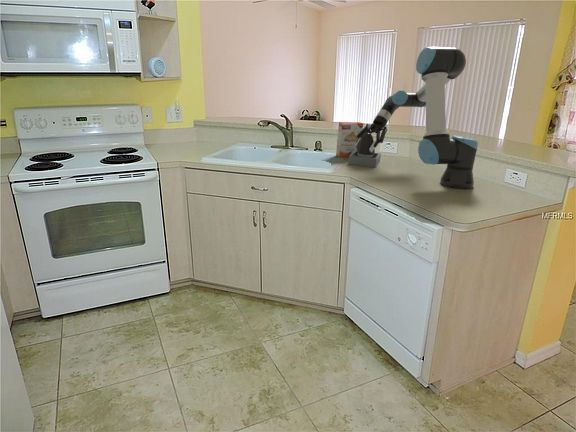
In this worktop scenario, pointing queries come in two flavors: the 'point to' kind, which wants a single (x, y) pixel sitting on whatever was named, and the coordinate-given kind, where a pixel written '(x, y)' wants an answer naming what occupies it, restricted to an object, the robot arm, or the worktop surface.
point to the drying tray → (364, 160)
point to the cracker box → (347, 138)
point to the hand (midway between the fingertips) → (362, 149)
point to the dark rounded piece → (365, 146)
